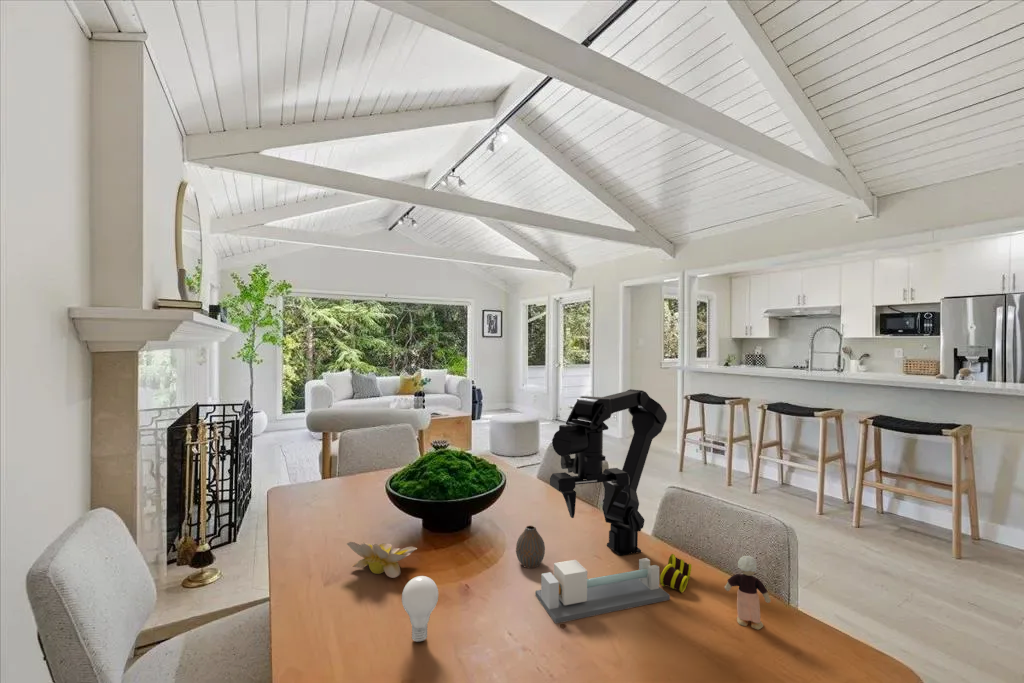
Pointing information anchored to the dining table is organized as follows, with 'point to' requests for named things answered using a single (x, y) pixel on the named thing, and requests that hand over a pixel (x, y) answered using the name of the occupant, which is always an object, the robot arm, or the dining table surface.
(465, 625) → the dining table surface
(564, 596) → the white square tube
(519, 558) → the vase
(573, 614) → the linear slide rail
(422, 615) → the lightbulb
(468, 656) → the dining table surface
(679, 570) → the opera glasses
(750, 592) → the grandmother figurine
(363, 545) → the decorative flower
